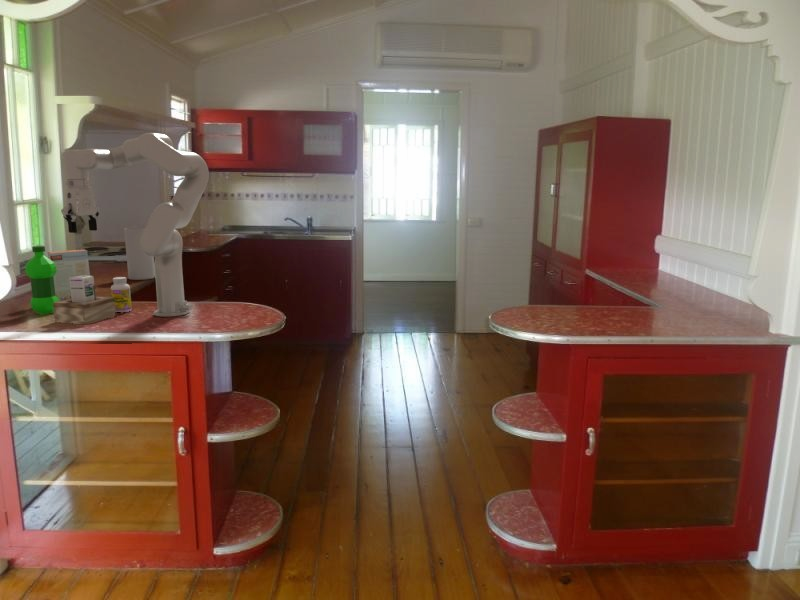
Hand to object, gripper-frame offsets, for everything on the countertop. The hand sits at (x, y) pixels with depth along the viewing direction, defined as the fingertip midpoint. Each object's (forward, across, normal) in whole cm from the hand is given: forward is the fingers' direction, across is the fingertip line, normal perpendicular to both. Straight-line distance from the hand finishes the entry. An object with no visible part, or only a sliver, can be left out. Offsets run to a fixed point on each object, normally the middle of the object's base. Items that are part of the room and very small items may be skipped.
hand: (83, 231), depth 253 cm
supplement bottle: (+31, +4, -11) cm, 33 cm away
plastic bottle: (+31, -6, +16) cm, 35 cm away
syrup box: (+30, -11, -8) cm, 32 cm away
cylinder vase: (+31, +75, +40) cm, 90 cm away
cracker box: (+31, +15, +24) cm, 42 cm away
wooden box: (+30, -11, -8) cm, 33 cm away
